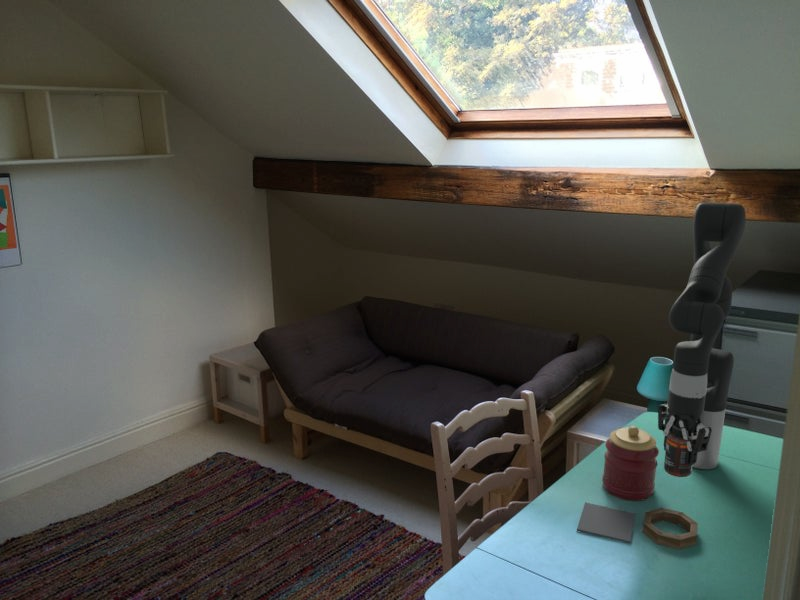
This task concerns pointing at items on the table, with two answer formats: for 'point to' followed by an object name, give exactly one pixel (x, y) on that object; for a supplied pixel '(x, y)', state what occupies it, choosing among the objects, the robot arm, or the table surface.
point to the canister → (630, 464)
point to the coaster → (606, 522)
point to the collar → (668, 538)
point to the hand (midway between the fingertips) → (679, 457)
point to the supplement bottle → (676, 454)
